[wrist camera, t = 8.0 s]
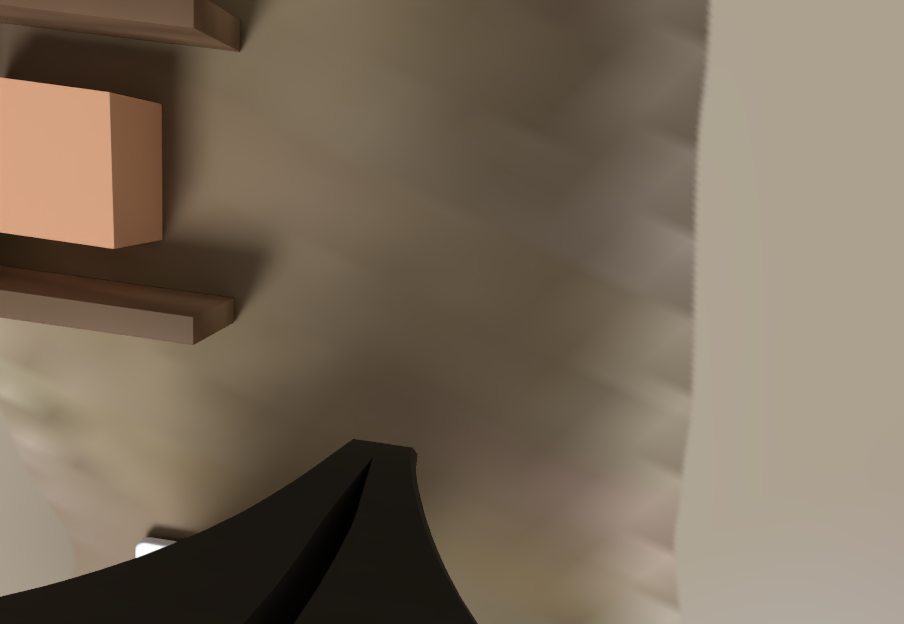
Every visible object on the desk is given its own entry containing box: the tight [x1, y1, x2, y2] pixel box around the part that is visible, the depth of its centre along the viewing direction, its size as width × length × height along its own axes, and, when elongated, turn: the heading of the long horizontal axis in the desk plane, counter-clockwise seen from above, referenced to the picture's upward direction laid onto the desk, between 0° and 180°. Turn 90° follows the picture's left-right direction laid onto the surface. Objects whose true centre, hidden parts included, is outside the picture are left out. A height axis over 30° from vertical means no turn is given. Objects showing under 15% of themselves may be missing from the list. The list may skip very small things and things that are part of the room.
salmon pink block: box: [0, 78, 162, 249], centre depth 19 cm, size 5×6×3 cm
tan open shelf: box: [0, 0, 240, 345], centre depth 19 cm, size 11×11×3 cm
